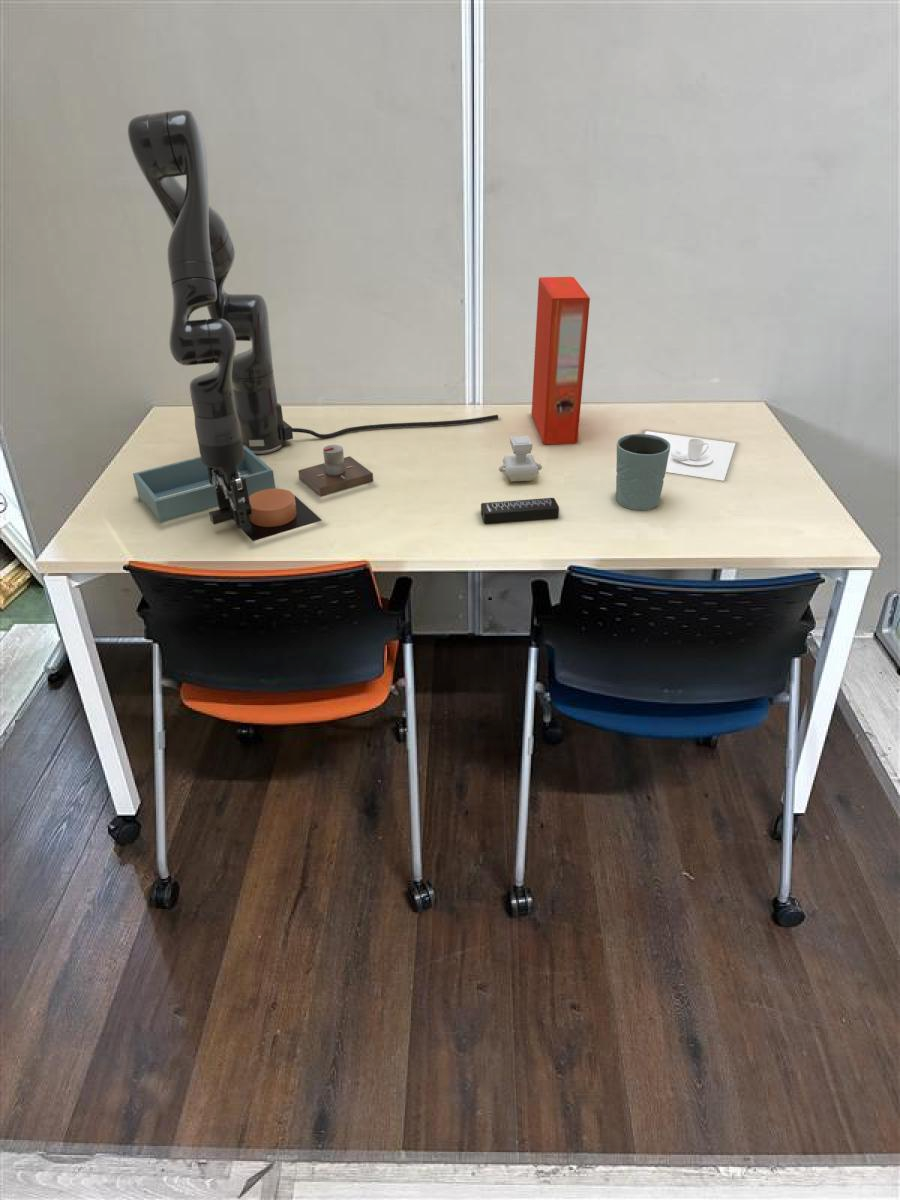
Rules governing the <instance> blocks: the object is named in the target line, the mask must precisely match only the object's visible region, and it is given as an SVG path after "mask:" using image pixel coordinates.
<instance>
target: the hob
mask: <svg viewBox="0 0 900 1200" xmlns="http://www.w3.org/2000/svg"><path fill="white" fill-rule="evenodd" d="M294 496H295V503H296V511H297V515H296V517H295V518H294V519H293V520H292V521H290V522H289V523H286V524H284V525H280V526H275V527H262V526H258V525H255V524H253V523H252V522H251V521H250V520H249V515H247V519H248V525H247V526H245V527H242V528H240V530H242V532H243V533H244V534H245V535H246V536H247V538H249V539H250V540H251V541H252V542H256V541H259V540H262V539H266V538H270V537H272V536H275V535H279V534H282V533H285V532H288V531H292V530H295V529H299V528H301V527H305V526H308V525H311V524H315V523H318V522H321V521H322V520H323V519H321V517H319V516H318V515H317V513H315V512H314V511H312V509H310V508H309V507H308V506H307V505H306V504H305V503H304V502H303V501H301V500H300V498H298V497H297V496H296V495H295V494H294ZM232 521H233V522H234V523H235V520H234V519H232Z"/></svg>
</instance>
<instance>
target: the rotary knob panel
mask: <svg viewBox="0 0 900 1200" xmlns="http://www.w3.org/2000/svg"><path fill="white" fill-rule="evenodd" d="M344 464H345V472H344V473H343V474H341V475H336V476H332V475H328V474H326V472H325V463H324V462H323V463H319V464H316V465H312V466H308V467H305V468H301V469H298V470H297V472H298V478H299V480H300V481H301V482H303V483H304V484H305V485H306V486H307V487H308V488H310V489H311V490H312V491H313V492H314V493H315V494H316V495H318V496H319V497H324V496H329V495H331V494H335V493H338V492H341V491H345V490H348V489H352V488H355V487H359V486H362V485H365V484H369V483H373V482H374V473H373V472H372V471H371V470H369V469H368V468H367V467H365V466H364V465H363V464H362V463H360V462H359V461H358V460H356V459H355V458H353V457H352V456H351V455H349V456H344Z"/></svg>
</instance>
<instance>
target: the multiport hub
mask: <svg viewBox="0 0 900 1200" xmlns="http://www.w3.org/2000/svg"><path fill="white" fill-rule="evenodd" d="M559 514H560V506H559V503H558V502H557V500H556V498H555V497H543V498H531V499H529V498H528V499H518V500H516V499H515V500H506V501H505V500H504V501H491V502H481V503H480V516H481V519H482V522H483V524H484V525H491V524H492V525H493V524H507V523H519V522H520V523H521V522H531V521H543V520H544V521H545V520H557V519H559V516H560V515H559Z"/></svg>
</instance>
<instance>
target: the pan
mask: <svg viewBox="0 0 900 1200" xmlns="http://www.w3.org/2000/svg"><path fill="white" fill-rule="evenodd" d="M294 495H295V494H294V493H293V492H292V491H290V490H288V489H283V488H275V489H266V490H261V491H258V492H256V493H254V494H252V495H250V496H249V501H250V508H248V509H246V513H247V515H249V520H250V521H251V522H252V523H253V524H255V525H258V526H262V527H275V526H280V525H284V524H286V523H289V522H290V521H292V520H293V519H294V518H295V517H296V515H297V511H296V503H295V496H296V495H295V496H294ZM208 515H209V521H210V522H211V523H212V524H213V525H218V524H221V523H225V522H228V521H231V520H232V521H233V519H234V515H233V509H232V506H230V507H226V508H223V509H216V510H212V511H209V512H208Z"/></svg>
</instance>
